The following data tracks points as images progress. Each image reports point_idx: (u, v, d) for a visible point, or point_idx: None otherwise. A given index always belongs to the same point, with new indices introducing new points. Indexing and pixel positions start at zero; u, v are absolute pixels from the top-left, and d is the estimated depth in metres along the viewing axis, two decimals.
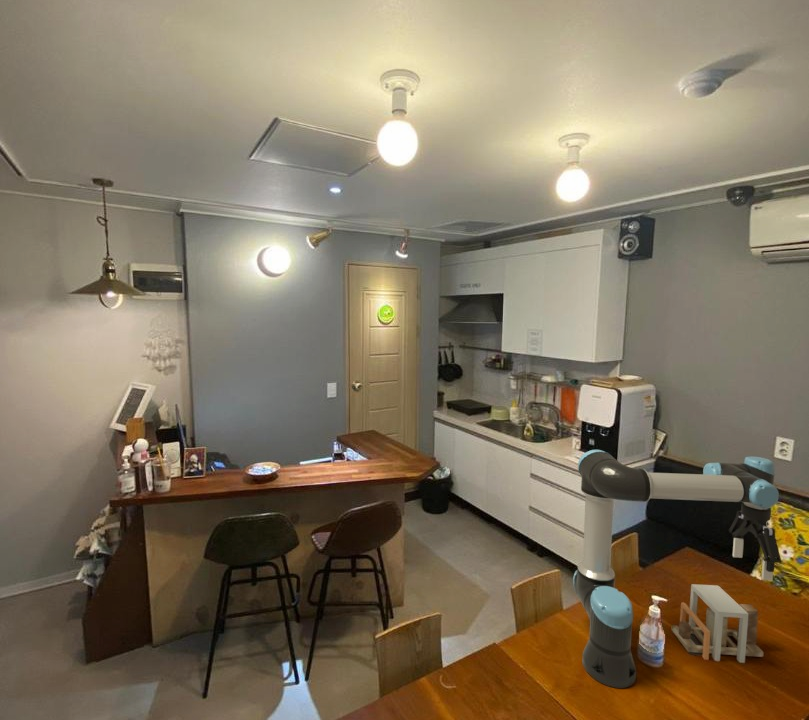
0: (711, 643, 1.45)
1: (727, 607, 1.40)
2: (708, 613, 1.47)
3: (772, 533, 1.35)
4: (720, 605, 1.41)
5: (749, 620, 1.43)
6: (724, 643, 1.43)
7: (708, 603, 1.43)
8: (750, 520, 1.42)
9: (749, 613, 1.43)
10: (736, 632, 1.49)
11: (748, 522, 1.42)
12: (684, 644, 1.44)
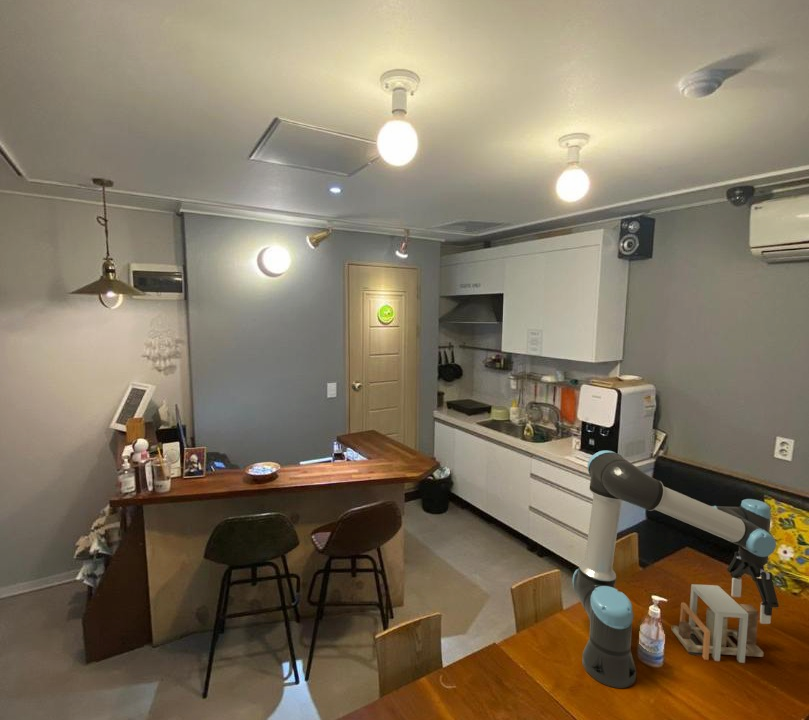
0: (711, 643, 1.45)
1: (727, 607, 1.40)
2: (708, 613, 1.47)
3: (769, 577, 1.37)
4: (720, 605, 1.41)
5: (749, 620, 1.43)
6: (724, 643, 1.43)
7: (708, 603, 1.43)
8: (748, 562, 1.44)
9: (749, 613, 1.43)
10: (736, 632, 1.49)
11: (746, 564, 1.44)
12: (684, 644, 1.44)
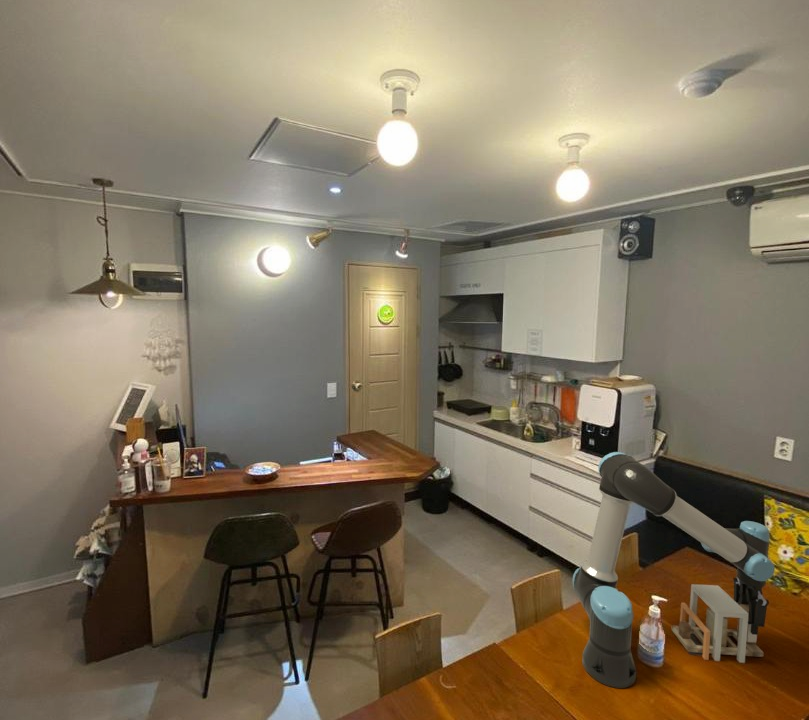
0: (711, 643, 1.45)
1: (727, 607, 1.40)
2: (708, 613, 1.47)
3: (765, 604, 1.38)
4: (720, 605, 1.41)
5: (749, 620, 1.43)
6: (724, 643, 1.43)
7: (708, 603, 1.43)
8: None
9: None
10: (736, 632, 1.49)
11: (743, 585, 1.45)
12: (684, 644, 1.44)
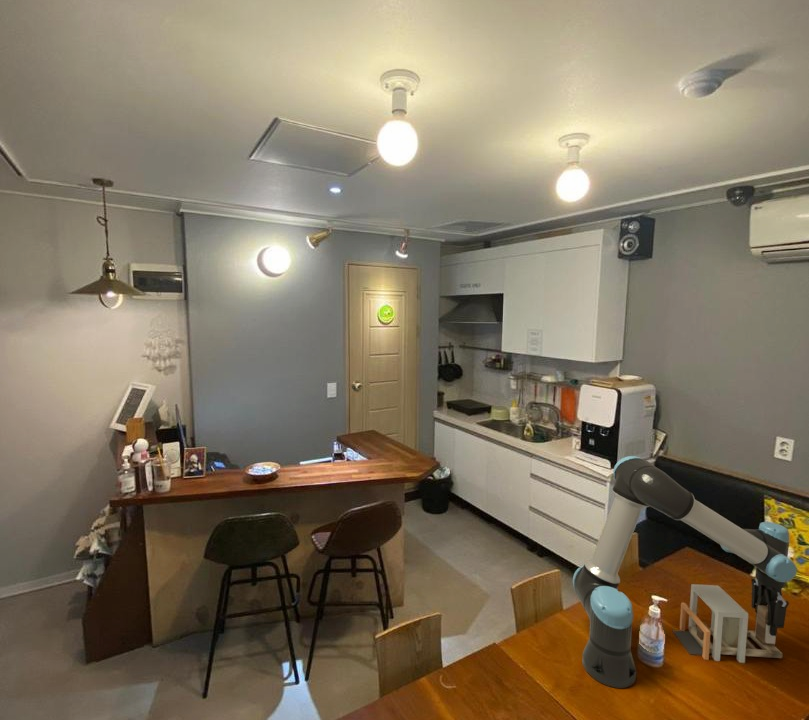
0: None
1: (727, 607, 1.40)
2: None
3: (784, 605, 1.38)
4: (720, 605, 1.41)
5: None
6: None
7: (708, 603, 1.43)
8: None
9: None
10: (754, 633, 1.49)
11: (762, 586, 1.44)
12: (702, 645, 1.44)
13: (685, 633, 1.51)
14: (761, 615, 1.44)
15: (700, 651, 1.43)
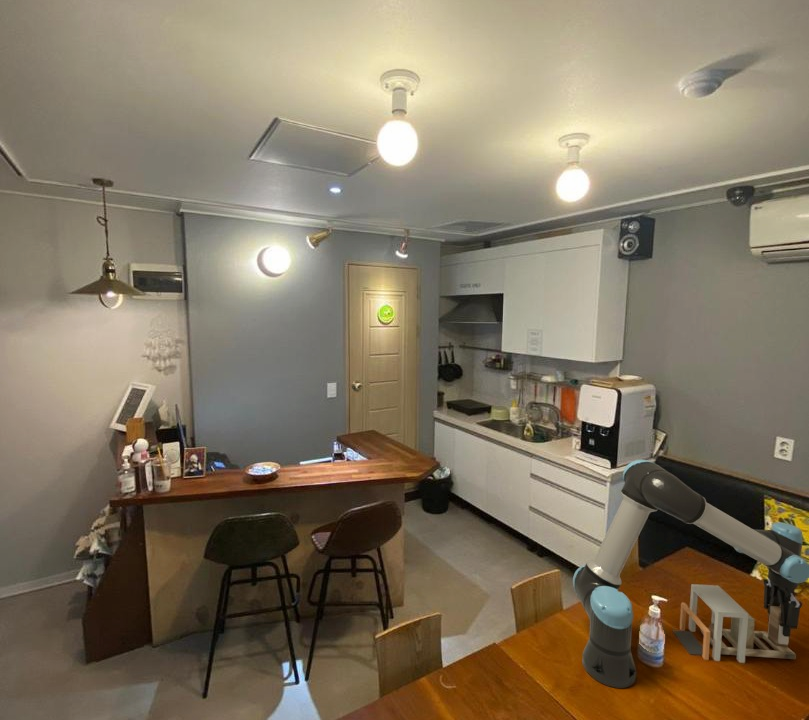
0: None
1: (727, 607, 1.40)
2: None
3: (798, 606, 1.37)
4: (720, 605, 1.41)
5: (781, 622, 1.42)
6: (751, 644, 1.43)
7: (708, 603, 1.43)
8: None
9: None
10: (766, 634, 1.48)
11: (775, 586, 1.44)
12: None
13: (685, 633, 1.51)
14: (774, 616, 1.44)
15: (700, 651, 1.43)
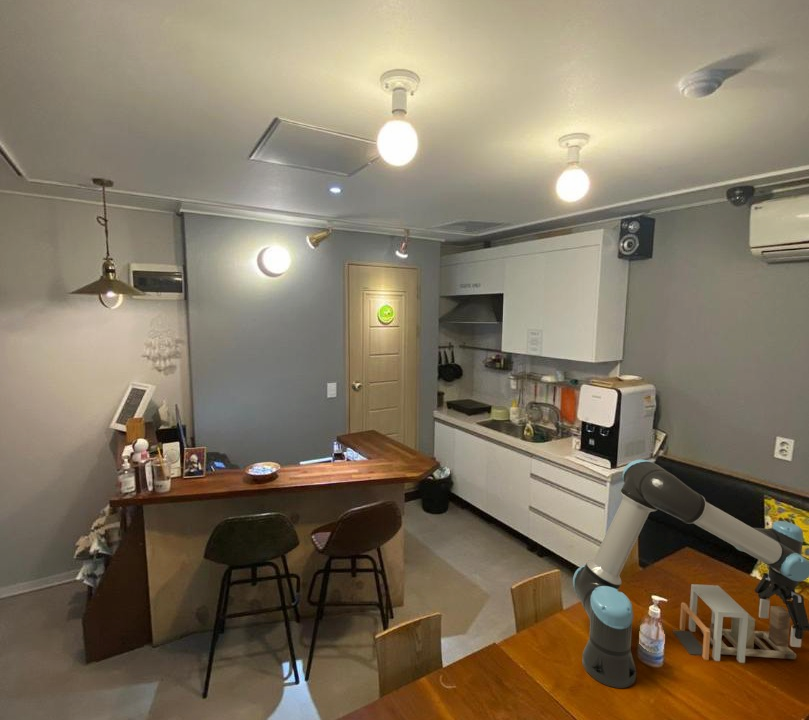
0: None
1: (727, 607, 1.40)
2: None
3: (801, 601, 1.36)
4: (720, 605, 1.41)
5: (781, 622, 1.42)
6: (752, 644, 1.43)
7: (708, 603, 1.43)
8: (778, 584, 1.44)
9: (781, 615, 1.42)
10: (767, 634, 1.48)
11: (776, 586, 1.44)
12: None
13: (685, 633, 1.51)
14: (775, 616, 1.44)
15: (700, 651, 1.43)
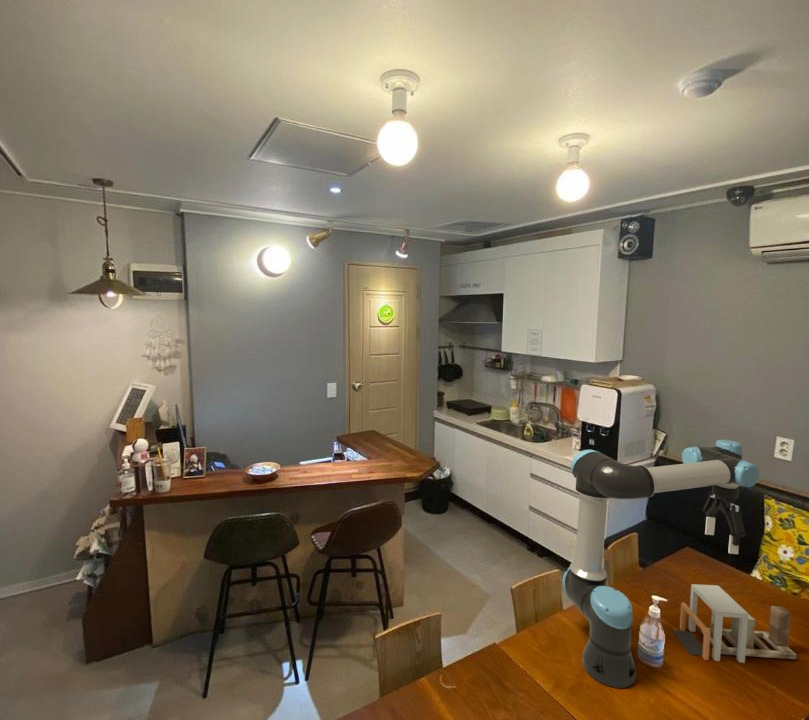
0: None
1: (727, 607, 1.40)
2: None
3: (738, 510, 1.45)
4: (720, 605, 1.41)
5: (781, 622, 1.42)
6: (752, 644, 1.43)
7: (708, 603, 1.43)
8: (720, 499, 1.53)
9: (781, 615, 1.42)
10: (767, 634, 1.48)
11: (718, 501, 1.53)
12: None
13: (685, 633, 1.51)
14: (775, 616, 1.44)
15: (700, 651, 1.43)
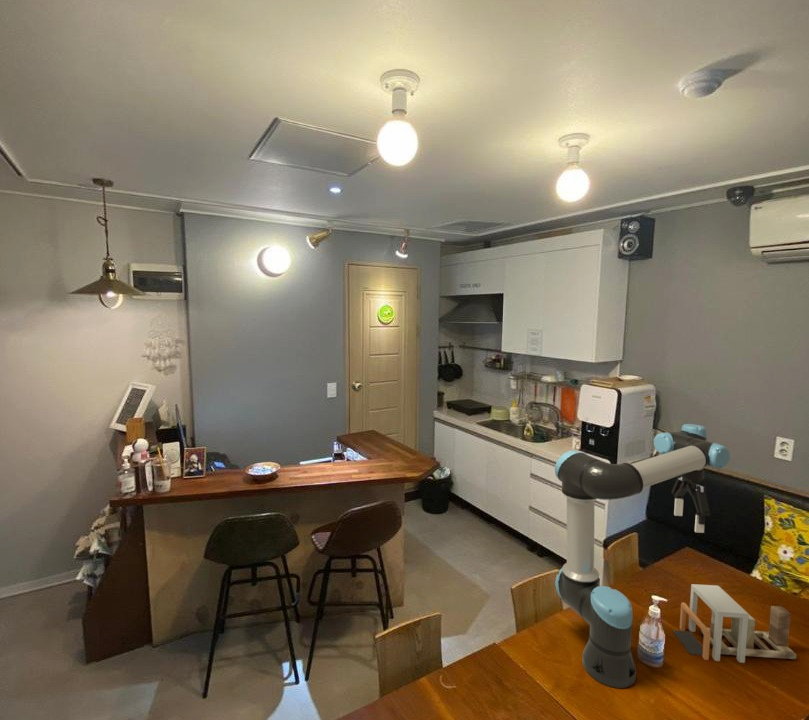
0: None
1: (727, 607, 1.40)
2: None
3: (703, 490, 1.52)
4: (720, 605, 1.41)
5: (781, 622, 1.42)
6: (752, 644, 1.43)
7: (708, 603, 1.43)
8: (687, 481, 1.59)
9: (781, 615, 1.42)
10: (767, 634, 1.48)
11: (685, 482, 1.59)
12: None
13: (685, 633, 1.51)
14: (775, 616, 1.44)
15: (700, 651, 1.43)
